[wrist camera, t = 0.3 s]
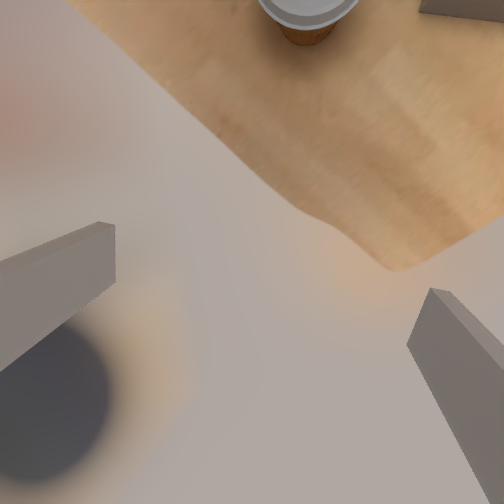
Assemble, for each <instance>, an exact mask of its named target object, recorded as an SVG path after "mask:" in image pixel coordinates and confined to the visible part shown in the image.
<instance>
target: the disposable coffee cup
mask: <svg viewBox="0 0 504 504" xmlns="http://www.w3.org/2000/svg"><path fill="white" fill-rule="evenodd" d="M258 2H259V3H260V5H261V6H262V7H263V9H264V10H265V11H266V13H267V14H268V15H270V16H271V17H272V18H273V19H274V20H275V21H276V22H277V24H278V25H279V27H280V29H281V30H282V32H283V34H284V35H285V36H286V38H287V39H289V40H290V41H291V42H293V43H295V44H297V45H302V46H309V45H313V44H316V43H318V42H320V41H321V40H323V39H324V38H325V37H326V36H327V35H328V34H329V33H330V31H331V30H332V29H333V27H334V26H335V25H336V23H337V22H338V21H339V19H341V18H342V17H344V16H345V15H346V14H347V13H348V12H349V11H350V10H351V9H352V8H353V7H354V6H355V5H356V4H357V3H358V2H359V0H258Z"/></svg>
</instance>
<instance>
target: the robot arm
mask: <svg viewBox="0 0 504 504" xmlns="http://www.w3.org/2000/svg"><path fill="white" fill-rule="evenodd" d="M115 282H116V281H115V225H113V224H108V223H103V222H96V223H94V224H91V225H89V226H86V227H84V228H81V229H79V230H76V231H74V232H72V233H69V234H67V235H64V236H62V237H59V238H57V239H54V240H52V241H49V242H47V243H44V244H42V245H39V246H37V247H35V248H32V249H30V250H28V251H25V252H22V253H20V254H17V255H15V256H13V257H10V258H8V259H5V260H3V261H0V371H1V370H3V369H4V368H5V367H7V366H8V365H9V364H11V363H12V362H13V361H14V360H16V359H17V358H18V357H19V356H21V355H22V354H23V353H25V352H26V351H27V350H29V349H30V348H31V347H32V346H34V345H35V344H36V343H38V342H39V341H40V340H41V339H43V338H44V337H45V336H47V335H48V334H49V333H50V332H52V331H53V330H54V329H56V328H57V327H58V326H59V325H61V324H62V323H63V322H65V321H66V320H67V319H68V318H70V317H71V316H72V315H74V314H75V313H76V312H78V311H79V310H80V309H81V308H83V307H84V306H85V305H87V304H88V303H89V302H90V301H92V300H93V299H94V298H96V297H97V296H98V295H100V294H101V293H102V292H103V291H105V290H106V289H107V288H109V287H110V286H111V285H112V284H114V283H115ZM407 346H408V348H409V350H410V352H411V354H412V356H413V358H414V360H415V362H416V363H417V365H418V367H419V369H420V371H421V373H422V375H423V377H424V379H425V381H426V383H427V384H428V386H429V388H430V390H431V392H432V394H433V396H434V398H435V399H436V401H437V403H438V405H439V407H440V409H441V411H442V413H443V415H444V417H445V419H446V421H447V423H448V424H449V426H450V428H451V430H452V432H453V434H454V436H455V438H456V439H457V441H458V443H459V445H460V447H461V449H462V451H463V453H464V455H465V457H466V459H467V461H468V462H469V464H470V466H471V468H472V470H473V472H474V474H475V476H476V478H477V479H478V481H479V483H480V485H481V487H482V489H483V491H484V493H485V495H486V497H487V498H488V501H489V502H490V504H504V345H503V344H502V343H501V342H500V341H499V340H498V339H497V338H496V337H495V336H494V335H493V334H492V333H491V332H490V331H489V330H488V329H487V328H486V327H485V326H484V325H483V324H482V323H481V322H480V321H479V320H478V319H477V318H476V317H475V316H474V315H473V314H472V313H471V312H470V311H469V310H468V309H467V308H466V307H465V306H464V305H463V304H462V303H461V302H460V301H459V300H458V299H457V298H456V297H455V296H454V295H453V294H452V293H451V292H449V291H444V290H439V289H434V288H430V289H429V292H428V294H427V296H426V299H425V301H424V304H423V306H422V309H421V311H420V313H419V316H418V319H417V321H416V323H415V326H414V328H413V330H412V333H411V335H410V338H409V340H408V342H407Z"/></svg>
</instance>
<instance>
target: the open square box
mask: <svg viewBox="0 0 504 504" xmlns="http://www.w3.org/2000/svg"><path fill="white" fill-rule="evenodd" d="M419 12H420V13H429V14H437V15H445V16H454V17H462V18H470V19H479V20H487V21H495V22H504V0H422V2H421V6H420V9H419Z"/></svg>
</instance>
